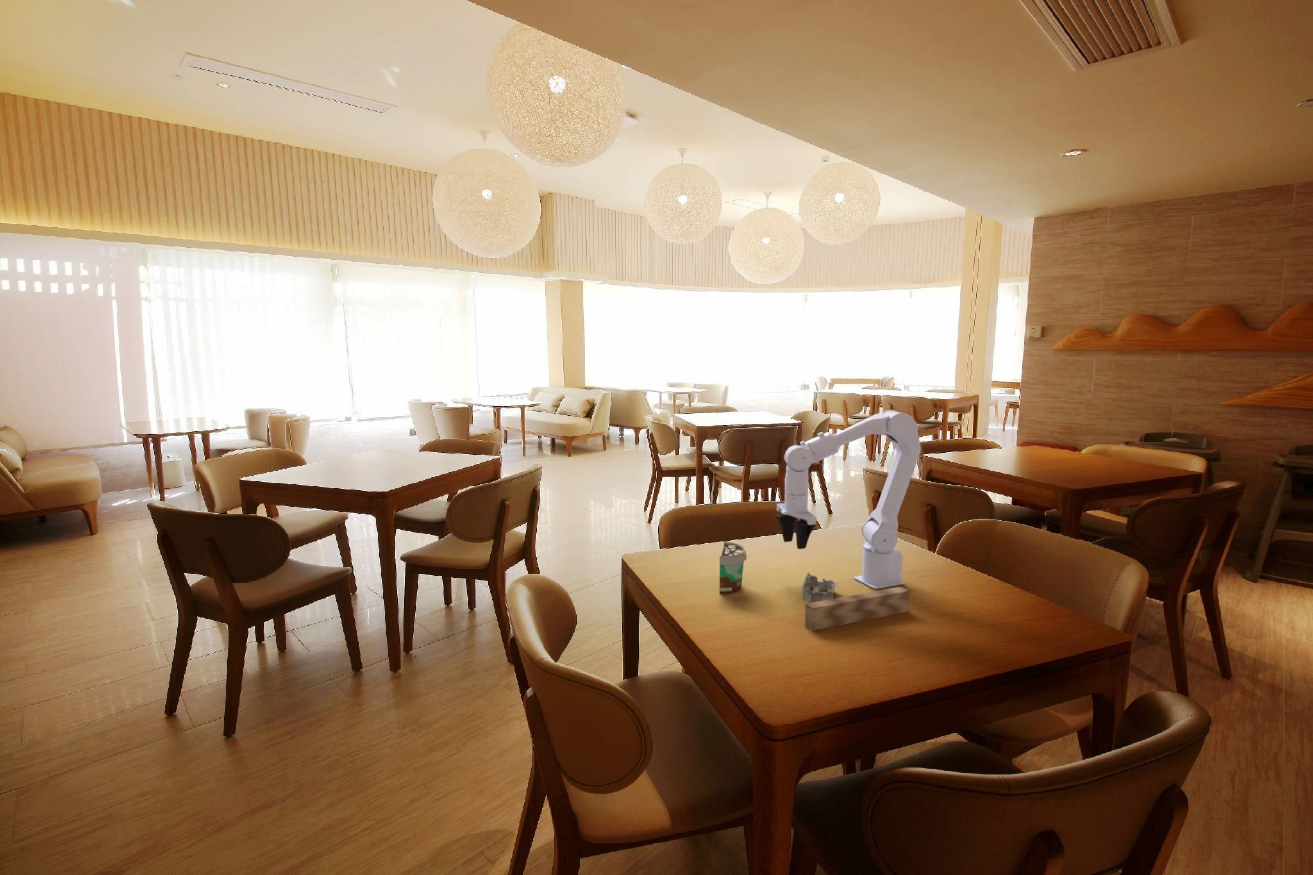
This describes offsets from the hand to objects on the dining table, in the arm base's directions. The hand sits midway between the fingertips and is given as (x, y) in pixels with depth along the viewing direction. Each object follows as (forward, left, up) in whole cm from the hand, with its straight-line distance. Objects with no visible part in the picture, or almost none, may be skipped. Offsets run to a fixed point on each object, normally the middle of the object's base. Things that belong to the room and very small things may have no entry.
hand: (794, 544), depth 151 cm
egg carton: (0, +11, -10) cm, 15 cm away
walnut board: (0, +25, -9) cm, 26 cm away
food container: (+17, -1, -10) cm, 20 cm away
